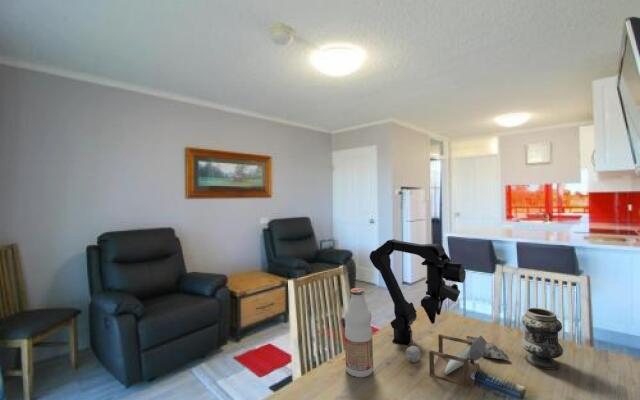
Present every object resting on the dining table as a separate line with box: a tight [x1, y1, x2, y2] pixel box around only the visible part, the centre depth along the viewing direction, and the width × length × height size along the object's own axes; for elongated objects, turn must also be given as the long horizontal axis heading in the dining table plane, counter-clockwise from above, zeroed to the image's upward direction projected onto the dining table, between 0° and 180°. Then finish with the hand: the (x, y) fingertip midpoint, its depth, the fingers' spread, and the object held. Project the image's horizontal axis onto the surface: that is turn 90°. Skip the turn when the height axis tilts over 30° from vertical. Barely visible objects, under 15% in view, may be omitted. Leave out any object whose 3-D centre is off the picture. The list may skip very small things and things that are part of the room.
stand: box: [428, 333, 480, 389], centre depth 106 cm, size 13×15×8 cm
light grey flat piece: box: [444, 335, 487, 375], centre depth 105 cm, size 14×11×2 cm
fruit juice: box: [344, 287, 374, 378], centre depth 108 cm, size 9×9×28 cm
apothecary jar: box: [520, 307, 564, 371], centre depth 110 cm, size 12×12×18 cm
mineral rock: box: [466, 335, 510, 361], centre depth 117 cm, size 15×8×4 cm, turn 15°
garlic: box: [405, 345, 422, 363], centre depth 112 cm, size 6×5×5 cm
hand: (435, 319), depth 118 cm, fingers open, 9 cm apart
